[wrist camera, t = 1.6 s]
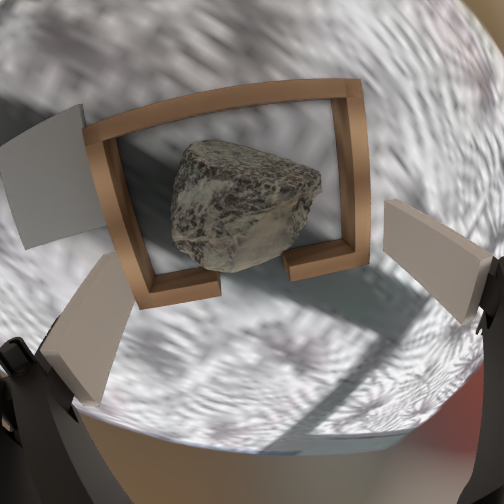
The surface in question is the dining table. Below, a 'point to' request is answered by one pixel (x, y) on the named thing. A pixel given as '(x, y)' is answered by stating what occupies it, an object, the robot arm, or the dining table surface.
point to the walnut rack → (338, 90)
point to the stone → (238, 205)
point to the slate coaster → (51, 180)
